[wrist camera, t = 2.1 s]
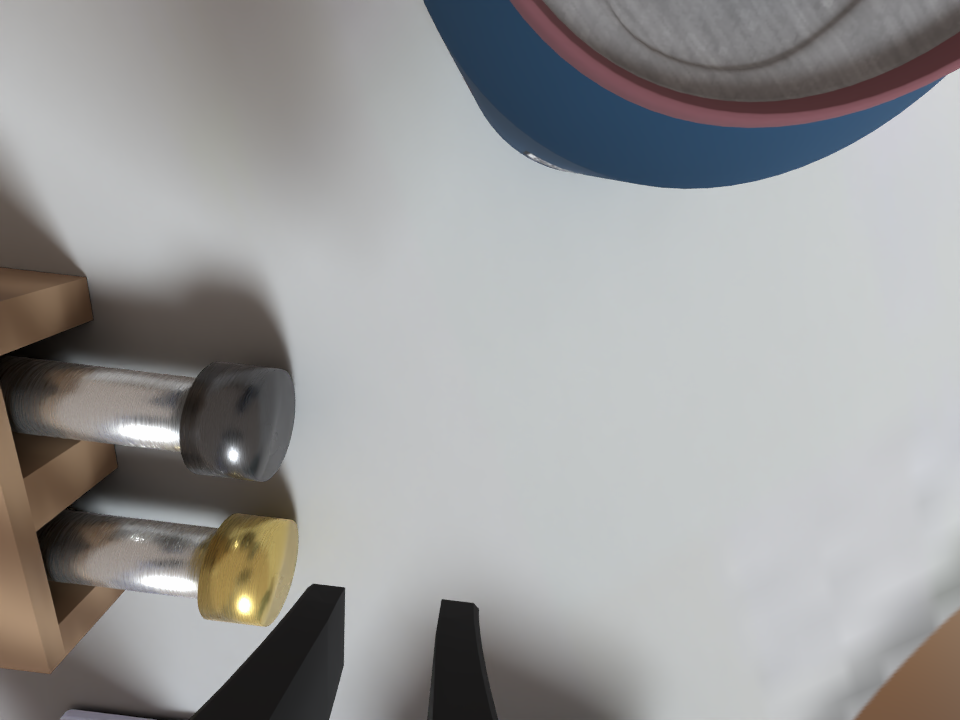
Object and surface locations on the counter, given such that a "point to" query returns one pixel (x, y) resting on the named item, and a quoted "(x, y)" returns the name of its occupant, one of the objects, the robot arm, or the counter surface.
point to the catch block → (42, 488)
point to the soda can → (694, 79)
